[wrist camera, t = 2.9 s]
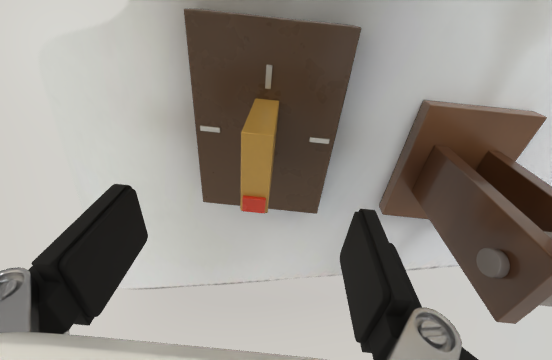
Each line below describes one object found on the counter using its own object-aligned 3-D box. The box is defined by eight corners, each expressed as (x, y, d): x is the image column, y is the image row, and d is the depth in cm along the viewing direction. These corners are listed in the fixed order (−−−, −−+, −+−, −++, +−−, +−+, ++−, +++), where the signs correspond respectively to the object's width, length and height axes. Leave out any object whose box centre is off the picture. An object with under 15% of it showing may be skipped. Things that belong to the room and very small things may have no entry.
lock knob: (255, 98, 16) (240, 134, 12) (279, 100, 16) (274, 137, 12) (252, 163, 19) (239, 213, 15) (273, 165, 19) (267, 216, 15)
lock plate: (194, 8, 16) (182, 8, 14) (354, 25, 16) (362, 27, 14) (209, 188, 23) (202, 203, 22) (315, 199, 24) (317, 215, 22)
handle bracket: (423, 99, 18) (579, 207, 8) (534, 111, 18) (820, 232, 8) (378, 206, 24) (439, 344, 14) (462, 214, 24) (582, 359, 14)
